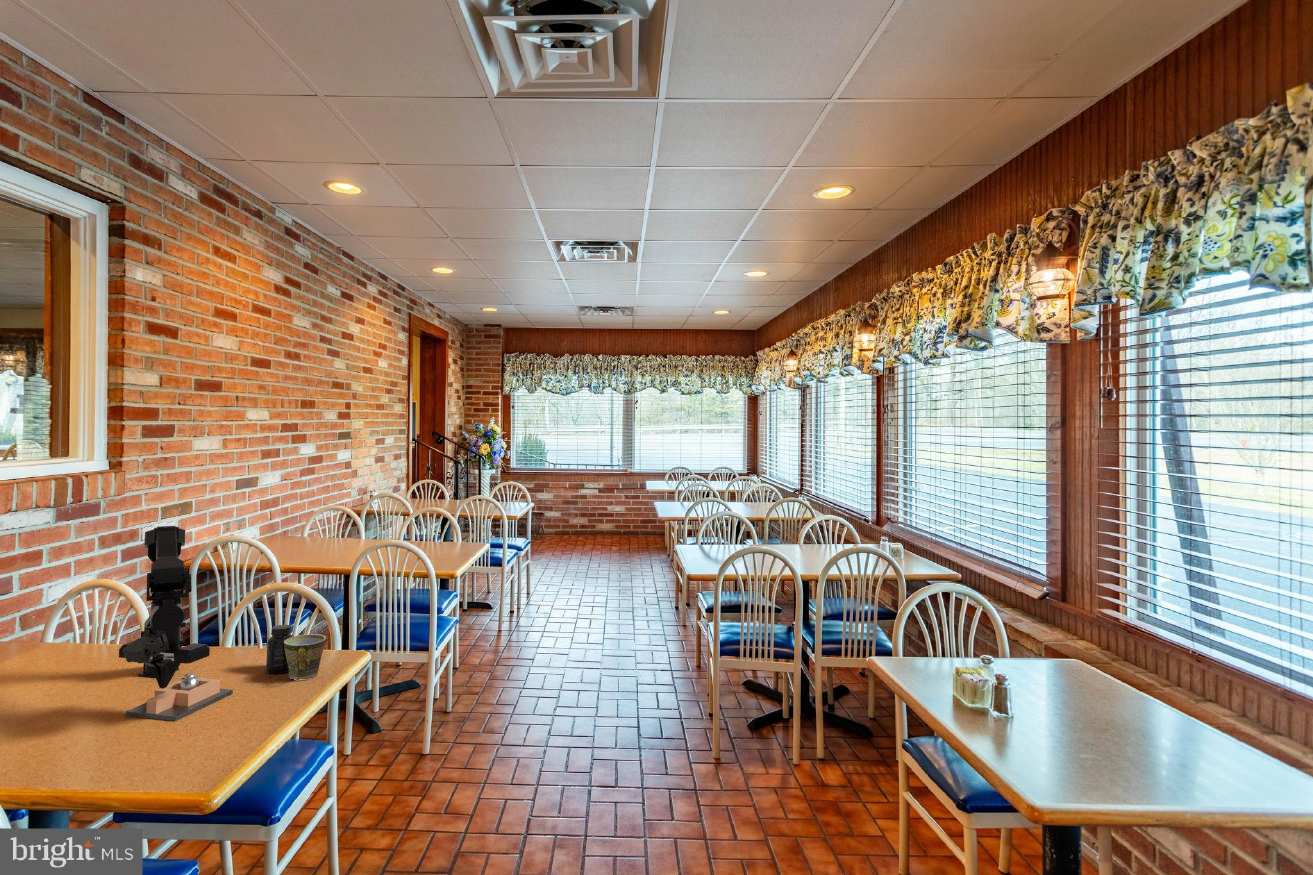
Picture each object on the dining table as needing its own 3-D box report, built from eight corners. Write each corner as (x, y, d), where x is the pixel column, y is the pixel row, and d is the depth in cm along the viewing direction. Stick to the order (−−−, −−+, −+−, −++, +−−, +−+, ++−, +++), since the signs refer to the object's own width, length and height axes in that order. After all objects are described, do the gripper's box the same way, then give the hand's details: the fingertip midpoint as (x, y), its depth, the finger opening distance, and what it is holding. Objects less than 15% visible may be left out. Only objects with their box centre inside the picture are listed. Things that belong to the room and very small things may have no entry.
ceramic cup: (286, 671, 175) (287, 635, 175) (327, 668, 179) (328, 632, 179) (276, 689, 163) (278, 650, 163) (320, 685, 167) (321, 646, 167)
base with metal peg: (125, 715, 145) (126, 688, 145) (186, 689, 161) (187, 664, 161) (175, 721, 144) (176, 692, 144) (232, 693, 159) (233, 668, 159)
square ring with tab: (133, 711, 145) (134, 698, 145) (187, 688, 159) (188, 676, 159) (168, 715, 144) (169, 702, 144) (219, 691, 158) (220, 679, 158)
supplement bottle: (300, 666, 179) (301, 624, 179) (283, 675, 172) (285, 631, 173) (277, 665, 180) (278, 622, 180) (259, 673, 173) (261, 629, 173)
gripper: (96, 627, 141) (93, 697, 141) (170, 633, 138) (167, 705, 138) (143, 614, 152) (140, 679, 152) (212, 619, 149) (210, 686, 149)
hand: (163, 687), depth 148 cm, fingers closed
